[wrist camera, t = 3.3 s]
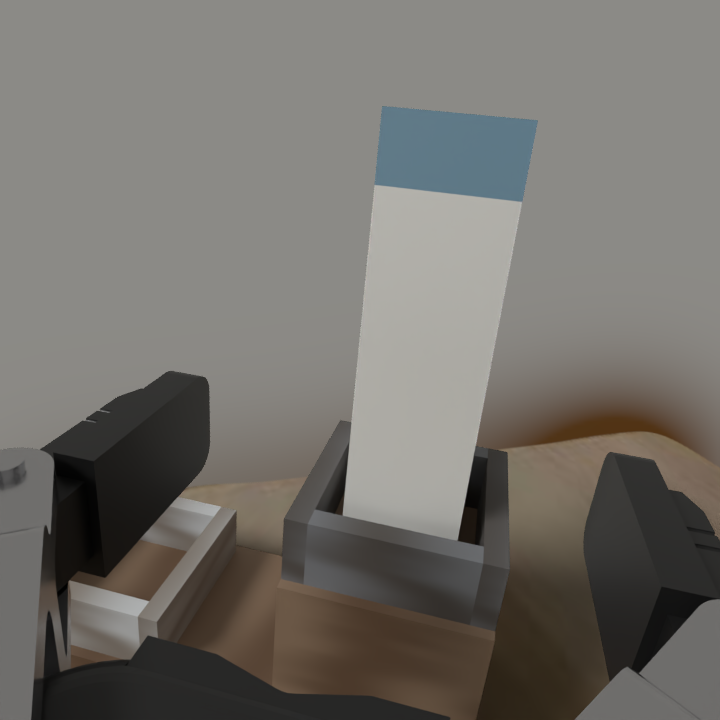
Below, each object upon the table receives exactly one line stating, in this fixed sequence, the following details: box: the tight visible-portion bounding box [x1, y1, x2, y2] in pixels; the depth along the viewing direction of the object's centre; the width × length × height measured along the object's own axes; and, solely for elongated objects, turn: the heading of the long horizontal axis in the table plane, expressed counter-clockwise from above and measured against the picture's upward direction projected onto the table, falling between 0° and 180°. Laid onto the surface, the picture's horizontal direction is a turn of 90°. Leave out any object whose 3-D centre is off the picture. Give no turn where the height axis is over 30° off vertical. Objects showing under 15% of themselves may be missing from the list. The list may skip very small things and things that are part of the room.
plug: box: [343, 106, 538, 541], centre depth 19 cm, size 4×4×15 cm
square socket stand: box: [69, 421, 510, 720], centre depth 24 cm, size 21×8×10 cm, turn 77°
